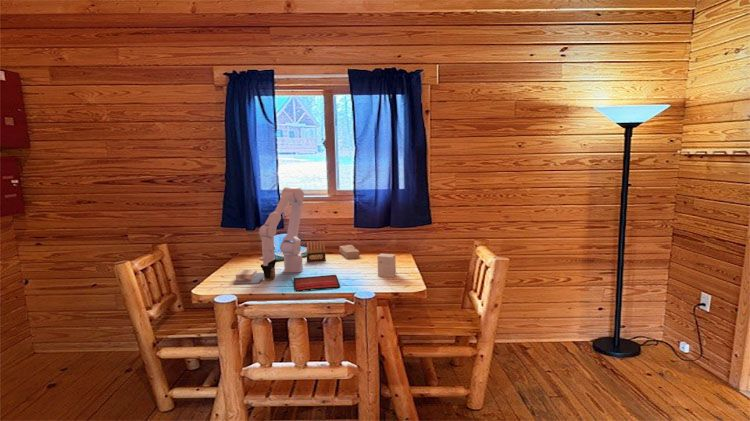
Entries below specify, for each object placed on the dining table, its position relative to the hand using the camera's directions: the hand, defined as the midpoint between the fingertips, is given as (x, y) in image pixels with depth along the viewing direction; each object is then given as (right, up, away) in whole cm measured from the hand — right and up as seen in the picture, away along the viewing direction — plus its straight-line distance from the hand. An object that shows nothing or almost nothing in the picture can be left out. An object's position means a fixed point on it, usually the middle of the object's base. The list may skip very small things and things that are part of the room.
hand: (269, 275), depth 207 cm
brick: (+37, +5, +43) cm, 57 cm away
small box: (+58, 0, +3) cm, 59 cm away
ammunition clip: (+19, +3, +31) cm, 37 cm away
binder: (+25, -3, -9) cm, 27 cm away
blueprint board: (-10, -2, 0) cm, 10 cm away
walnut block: (0, -2, 0) cm, 2 cm away
